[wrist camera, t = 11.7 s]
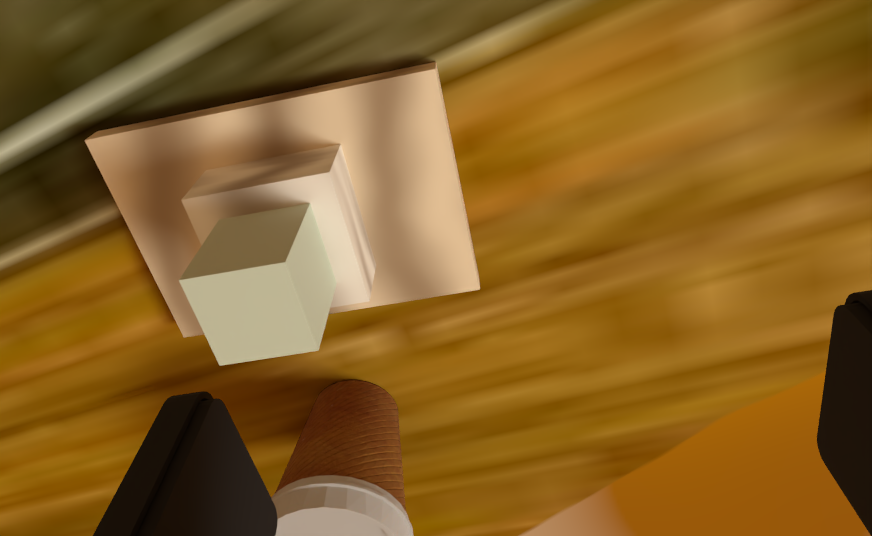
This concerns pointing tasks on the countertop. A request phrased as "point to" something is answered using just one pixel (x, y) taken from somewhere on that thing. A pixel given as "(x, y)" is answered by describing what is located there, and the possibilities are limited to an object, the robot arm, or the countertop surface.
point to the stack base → (295, 122)
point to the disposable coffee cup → (345, 468)
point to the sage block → (262, 285)
